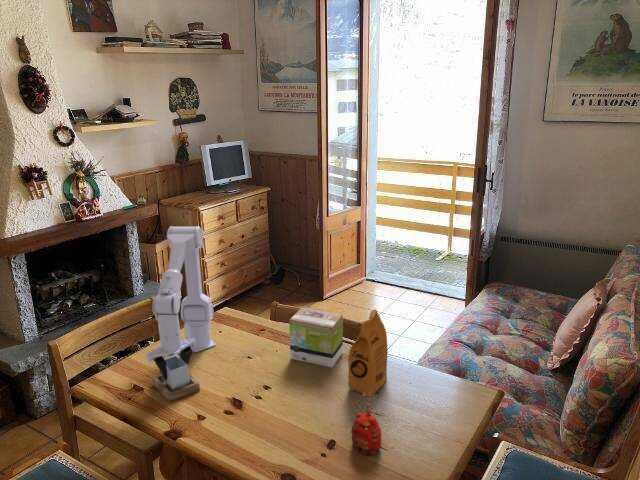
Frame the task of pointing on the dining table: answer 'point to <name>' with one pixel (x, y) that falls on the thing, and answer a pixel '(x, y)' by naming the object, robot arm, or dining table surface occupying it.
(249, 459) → the dining table surface
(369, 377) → the coffee package
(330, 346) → the tea box
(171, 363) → the small crate
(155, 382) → the shallow brown tray
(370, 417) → the red clay folk toy
